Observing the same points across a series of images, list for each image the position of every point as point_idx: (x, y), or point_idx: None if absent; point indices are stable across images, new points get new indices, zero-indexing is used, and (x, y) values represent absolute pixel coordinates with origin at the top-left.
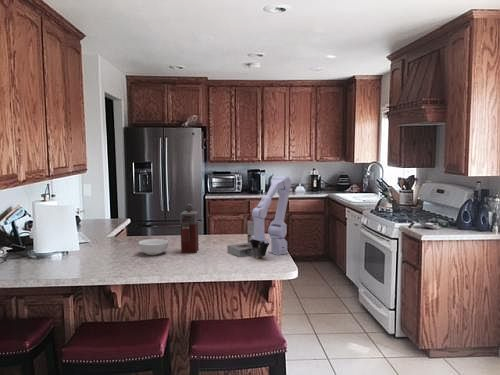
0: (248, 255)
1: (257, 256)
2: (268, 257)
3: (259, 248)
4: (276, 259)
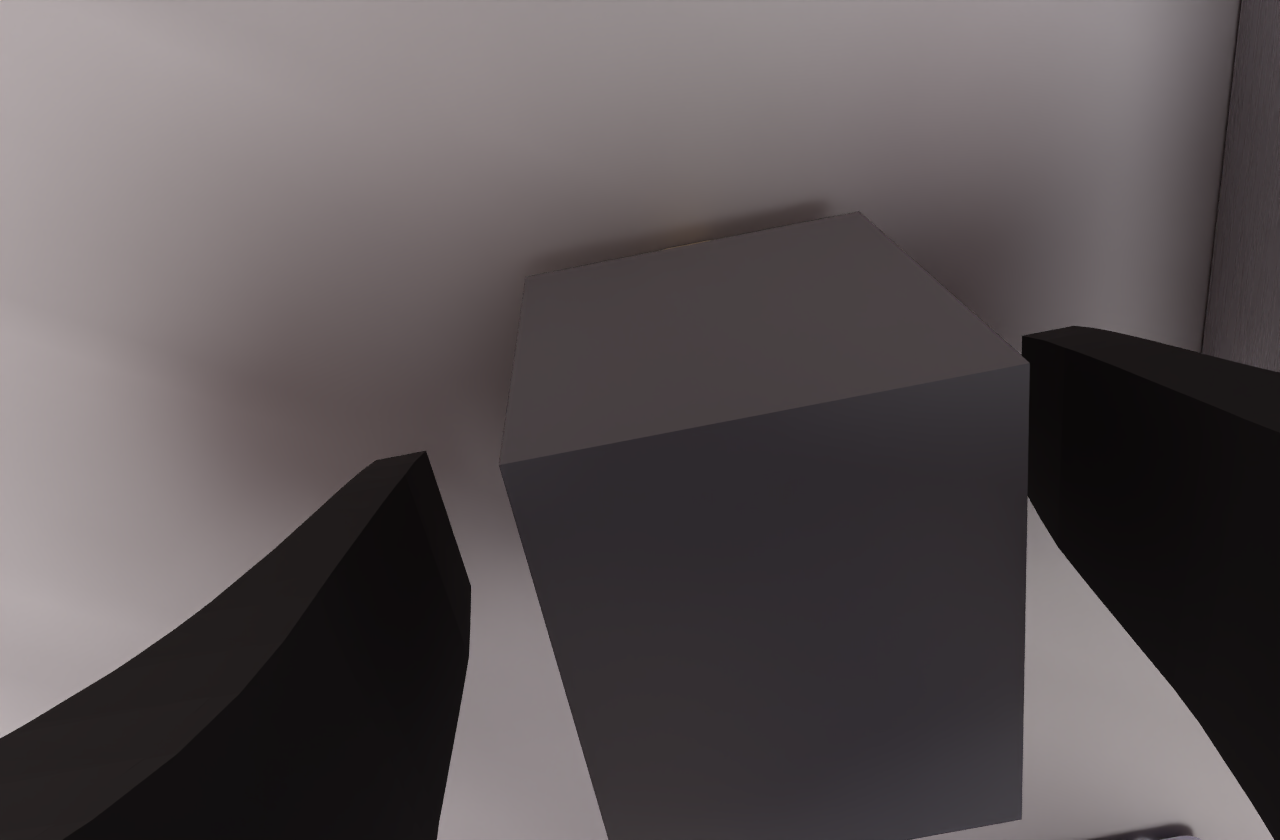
0: (1240, 88)
1: (545, 280)
2: None
3: (606, 609)
4: None
